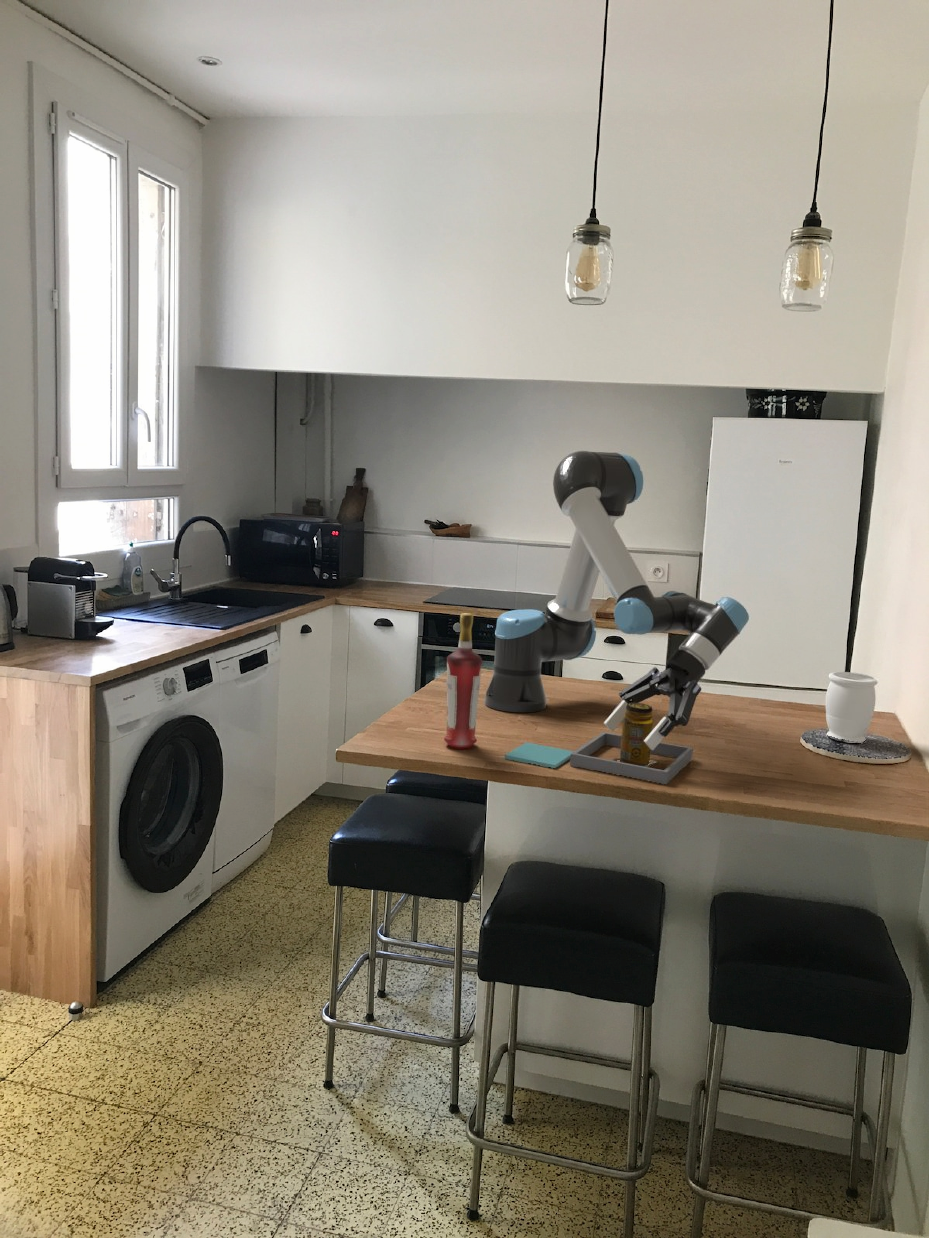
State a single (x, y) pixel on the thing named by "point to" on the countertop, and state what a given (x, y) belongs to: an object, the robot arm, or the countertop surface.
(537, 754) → the coaster
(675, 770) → the frame
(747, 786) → the countertop surface
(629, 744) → the condiment
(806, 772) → the countertop surface
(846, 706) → the jar
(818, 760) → the countertop surface
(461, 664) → the liquor
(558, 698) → the countertop surface
